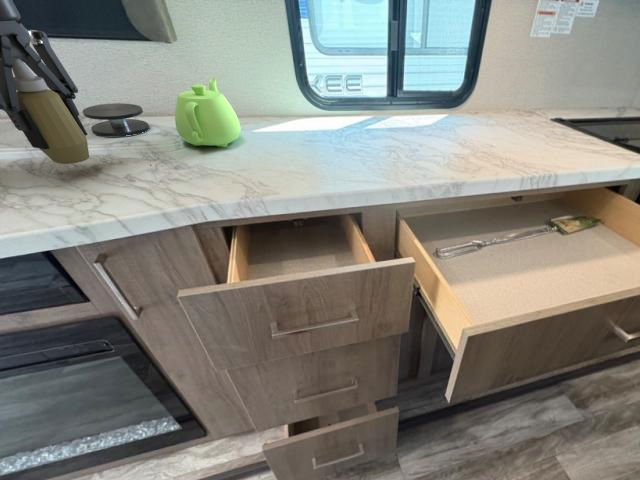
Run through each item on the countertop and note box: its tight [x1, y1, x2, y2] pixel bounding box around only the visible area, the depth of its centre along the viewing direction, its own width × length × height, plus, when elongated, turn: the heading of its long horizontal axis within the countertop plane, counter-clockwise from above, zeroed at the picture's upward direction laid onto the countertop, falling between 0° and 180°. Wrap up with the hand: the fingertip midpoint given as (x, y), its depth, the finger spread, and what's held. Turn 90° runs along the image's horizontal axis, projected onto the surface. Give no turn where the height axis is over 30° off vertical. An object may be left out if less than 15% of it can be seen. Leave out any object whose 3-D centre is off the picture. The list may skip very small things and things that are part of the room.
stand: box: [82, 102, 150, 137], centre depth 90 cm, size 13×13×5 cm
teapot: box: [174, 77, 242, 148], centre depth 87 cm, size 22×15×13 cm
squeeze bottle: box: [12, 58, 90, 165], centre depth 63 cm, size 8×8×18 cm
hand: (61, 140), depth 67 cm, fingers closed on squeeze bottle, 8 cm apart
